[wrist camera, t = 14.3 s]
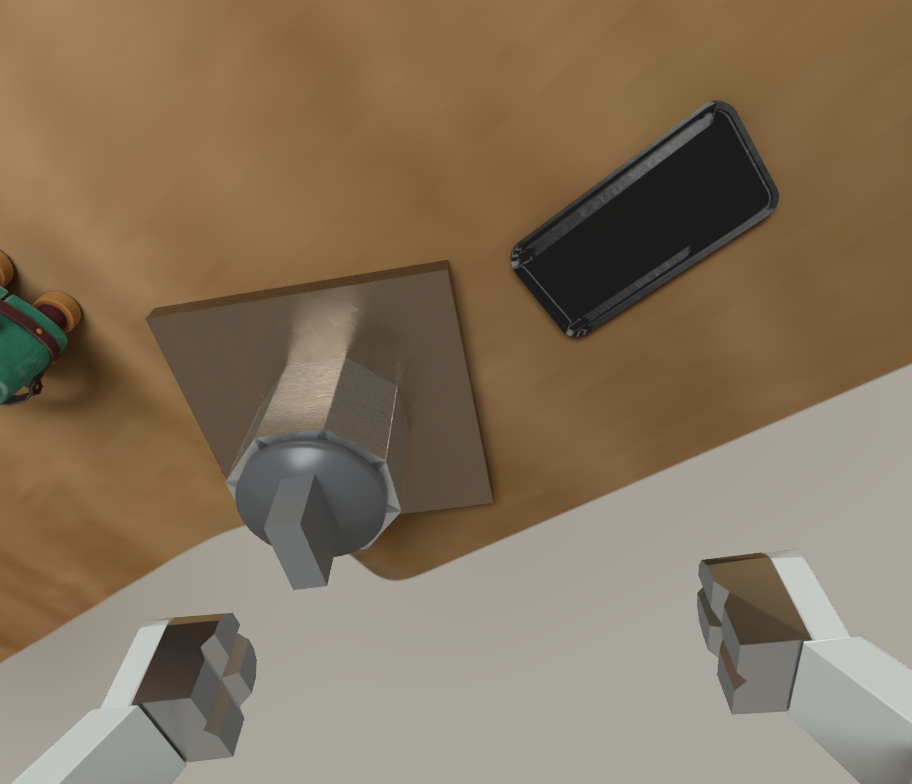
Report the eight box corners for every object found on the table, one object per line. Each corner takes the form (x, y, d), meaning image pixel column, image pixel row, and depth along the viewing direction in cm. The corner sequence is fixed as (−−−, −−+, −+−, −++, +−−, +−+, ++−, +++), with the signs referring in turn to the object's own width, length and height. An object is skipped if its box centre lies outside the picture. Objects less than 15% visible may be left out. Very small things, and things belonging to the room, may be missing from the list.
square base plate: (447, 260, 40) (444, 331, 32) (492, 489, 51) (498, 584, 43) (154, 308, 42) (84, 386, 35) (257, 519, 53) (222, 615, 45)
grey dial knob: (370, 407, 38) (354, 487, 32) (404, 515, 43) (394, 601, 37) (227, 427, 39) (186, 509, 33) (276, 530, 43) (247, 617, 38)
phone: (503, 258, 40) (726, 93, 34) (502, 251, 40) (719, 89, 35) (573, 344, 43) (786, 206, 37) (570, 336, 44) (778, 200, 38)
